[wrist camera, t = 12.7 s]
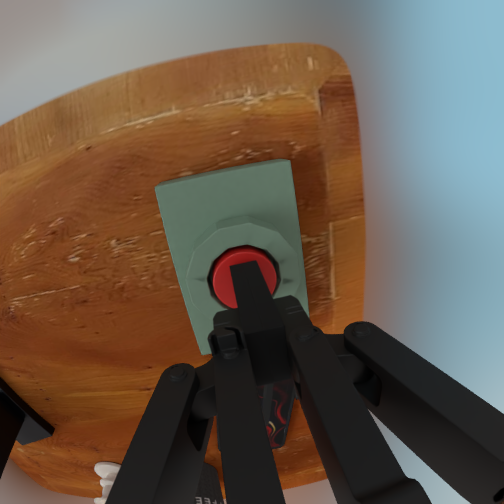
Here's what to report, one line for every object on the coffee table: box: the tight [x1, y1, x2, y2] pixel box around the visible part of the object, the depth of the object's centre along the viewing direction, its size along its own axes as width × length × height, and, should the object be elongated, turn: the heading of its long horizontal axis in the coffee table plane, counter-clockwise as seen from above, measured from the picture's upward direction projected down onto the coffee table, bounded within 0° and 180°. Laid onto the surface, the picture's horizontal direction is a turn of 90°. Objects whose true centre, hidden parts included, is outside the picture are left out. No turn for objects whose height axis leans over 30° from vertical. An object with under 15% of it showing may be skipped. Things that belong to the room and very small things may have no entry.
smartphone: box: [217, 373, 296, 451], centre depth 26 cm, size 7×1×15 cm
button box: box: [155, 159, 309, 355], centre depth 20 cm, size 12×8×4 cm, turn 10°
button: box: [212, 244, 277, 308], centre depth 18 cm, size 4×4×2 cm
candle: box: [94, 462, 121, 504], centre depth 24 cm, size 5×5×10 cm
